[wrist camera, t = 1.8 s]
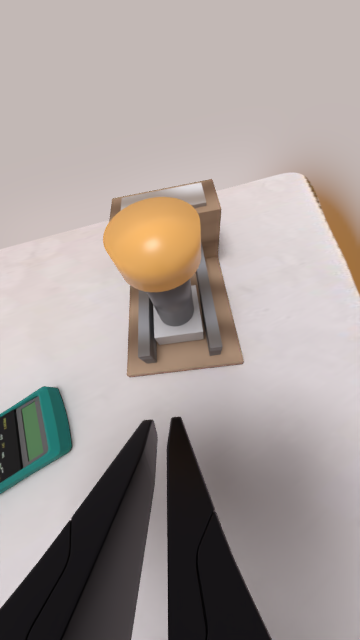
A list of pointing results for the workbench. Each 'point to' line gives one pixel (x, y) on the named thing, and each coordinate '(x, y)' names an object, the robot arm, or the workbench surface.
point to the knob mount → (211, 293)
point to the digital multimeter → (32, 435)
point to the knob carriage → (161, 261)
